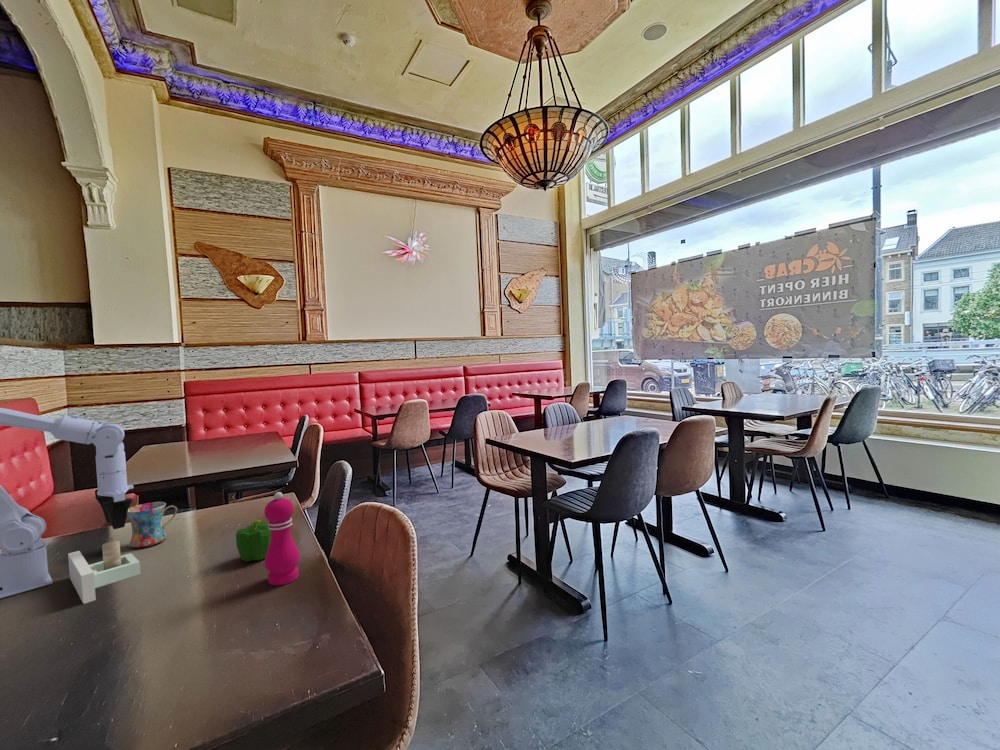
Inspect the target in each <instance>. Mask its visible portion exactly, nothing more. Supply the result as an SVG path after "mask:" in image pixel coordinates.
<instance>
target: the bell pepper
mask: <svg viewBox="0 0 1000 750" xmlns="http://www.w3.org/2000/svg"><path fill="white" fill-rule="evenodd" d="M235 540H236V542H235V543H236V548H237V552H238V553H239V554H238V555H239V557H240V559H241V560H242V561H243V562H245V563H248V562H252V561H261V560H265V557H266V554H267V551H268V548H269V545H270V540H271V532H270V529H268V522H263V521H262V520H261V519H256V520H254V521H253V522H252V524H249V525H248V526H247V527H245V528H240V529H238V530H237V531H236V533H235Z"/></svg>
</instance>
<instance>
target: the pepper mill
mask: <svg viewBox="0 0 1000 750" xmlns="http://www.w3.org/2000/svg"><path fill="white" fill-rule="evenodd" d="M283 496H284V495H283V493H282V492H281V491H277V492H276V493H274V495H273V499H272V500H271V501H269V502H268V503H267V504H266V506H265V508H264V518H266V519H267V521H268V522H267V524H268V529H270V532H271V540H270V545H269V548H268V551H267V554H266V557H265V558H264V567H265V570H267V571H268V572H269V573H268V574H267V581H268V584H269V585H271V586H283V585H288V584H289V583H292V582H294V581H296V580H297V579H298V578H299V576H300V575H299V568H298V566H297V565H298V564H299V562H300V560H301V559H300V558H301V557H300V551H299V549H298V547H297V545H296V543H295V541H294V539H293V536H292V532H291V529H292V525H293V522H292V521H293V518H292V517H291V516H292V515H293V514H294V511H295V506H294V504H293V502H292V501H291V500H290V499H289V498H285V497H283Z"/></svg>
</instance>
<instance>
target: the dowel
mask: <svg viewBox="0 0 1000 750" xmlns="http://www.w3.org/2000/svg"><path fill="white" fill-rule="evenodd" d="M101 548H102V549H101V550H102V561H103V565H104V570H107V569H110V568H114V567H117V566H121V556H122V555H121V544H120V540H113V541H109V542H105V543H102V545H101Z"/></svg>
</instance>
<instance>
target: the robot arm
mask: <svg viewBox="0 0 1000 750" xmlns="http://www.w3.org/2000/svg"><path fill="white" fill-rule="evenodd" d="M104 422H105V420H100V419H99V420H98V421H95V420H90V419H86V418H80V415H78V414H77V415H76V414H72V415H64V416H61V417H59V418H57V419H56V418H51V417H46V416H42V415H38V414H32V413H30V412H29V413H27V412H23V411H20V410H14V409H10V408H5V407H4V408H3V407H0V427H2V426H5V427H13V428H19V429H27V430H34V431H39V432H47V433H51V435H52V436H53V437H54V439H56V440H60V441H66V442H72V443H77V444H85V445H90V444H93V445H94V446H95V452H96V453H95V454H96V455H94V456H95V467H96V469H95V470H96V480H97V491H96V495H97V496H96V497H95V500H96V501H97V502H98V503H99V505H100V508H101V509H102V512H103V516H104V519H105V521H106V523H107V524H111V527H112V529H113V530H117V529H122V528H125V527H126V523H127V522H126V521H127V518H128V516H127V512H128V509H129V508H130V506H131V504H132V502H133V498H132V497H128V498H125V495H126V493H127V492H128V491H129V490H133V489H134V484H129V485H128V474H127V460H126V452H125V444H124V442H123V440H124V439H125V435H126V434H125V430H124V429H123V427H122V426H120V425H118V424H115V423H113V422H108V423H107V422H106V423H104ZM46 529H47V523H46V521H45V519H43V518H42V517H40V516H38V515H36V514H33V513H32V512H30V511H29V510H28V509H27V508H25V507H24V506H22V505H19V504H18V503H17V501H16V500H15V499H14V498H13V497H12V496H11V495H10V494H9V493H8V491H7V490H5V488H4V487H3V486H2V485H1V484H0V550H1V551H0V552H1V553H0V599H4V598H7V597H10V596H14V595H18V594H22V593H24V592H27V591H32V590H35V589H39V588H43V587H46V586H50V585H52V584H53V583H54V582H53V579H52V577H51V574H50V573H49V566H48V555H47V554H48V553H47V542H46V540H44V539H43V538H42V535H44V533H45V531H46Z"/></svg>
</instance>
